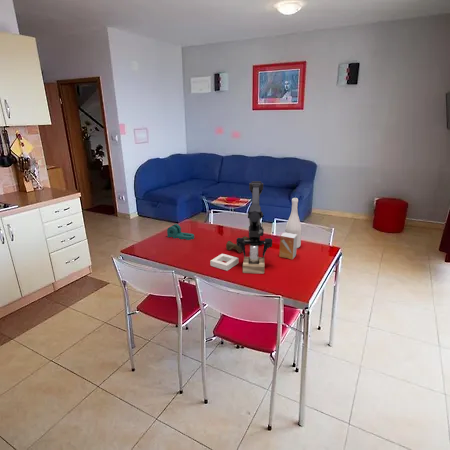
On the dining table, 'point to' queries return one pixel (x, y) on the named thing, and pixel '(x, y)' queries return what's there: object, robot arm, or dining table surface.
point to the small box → (288, 245)
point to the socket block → (253, 266)
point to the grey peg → (253, 254)
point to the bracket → (178, 233)
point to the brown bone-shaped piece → (235, 245)
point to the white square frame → (219, 264)
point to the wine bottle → (294, 222)
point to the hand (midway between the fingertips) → (253, 257)
